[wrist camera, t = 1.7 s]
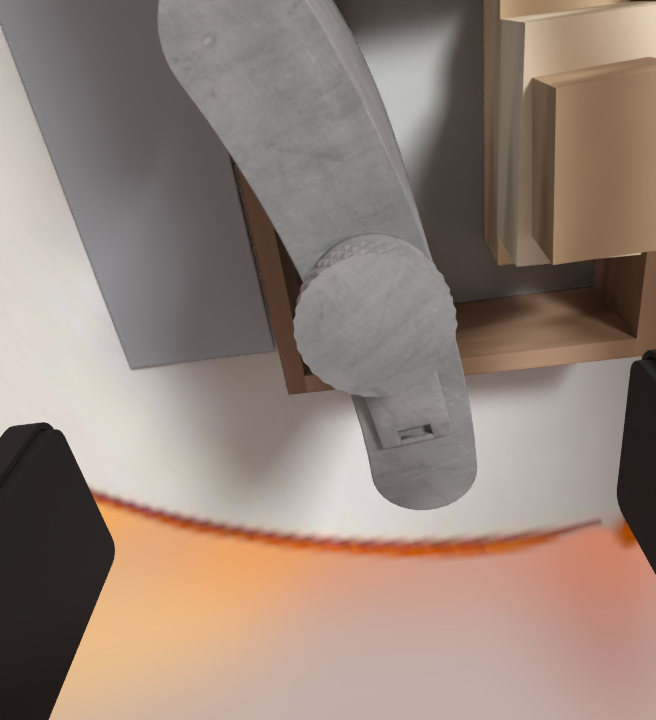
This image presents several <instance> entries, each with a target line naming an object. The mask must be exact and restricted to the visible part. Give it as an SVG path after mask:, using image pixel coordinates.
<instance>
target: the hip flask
mask: <svg viewBox="0 0 656 720" xmlns="http://www.w3.org/2000/svg"><path fill="white" fill-rule="evenodd" d="M157 27H158V37H159V41H160V45H161V50H162V53H163V55H164V58H165V60H166V62H167V65H168V67H169V69H170V70H171V72H172V73H173V75H174V77H175V78H176V80H177V81H178V83H179V84H180V85H181V87H182V88H183V89H184V91H185V92H186V94H187V95H188V96H189V98H190V99H191V100H192V102H193V103H194V104H195V106H196V107H197V108H198V110H199V111H200V112H201V114H202V115H203V117H204V118H205V119H206V121H207V122H208V124H209V125H210V126H211V128H212V129H213V131H214V132H215V134H216V135H217V137H218V138H219V140H220V141H221V143H222V144H223V145H224V147H225V148H226V150H227V151H228V153H229V154H230V156H231V157H232V159H233V160H234V162H235V163H236V165H237V167H238V168H239V170H240V171H241V173H242V175H243V176H244V178H245V179H246V181H247V183H248V184H249V186H250V187H251V189H252V191H253V192H254V194H255V195H256V197H257V199H258V200H259V202H260V204H261V206H262V207H263V209H264V211H265V213H266V214H267V216H268V218H269V220H270V221H271V223H272V225H273V226H274V228H275V230H276V232H277V233H278V235H279V237H280V239H281V241H282V243H283V245H284V246H285V248H286V250H287V252H288V254H289V256H290V258H291V260H292V262H293V264H294V266H295V268H296V269H297V271H298V273H299V275H300V278H301V280H302V282H303V284H302V285H301V288H300V295H299V296H298V298H297V306H296V308H295V315H296V316H295V318H294V320H293V323H294V328H295V329H294V338H295V340H296V342H297V350H298V351H299V353H300V354H301V356H302V359H303V362H304V363H305V364H306V365H308V366H309V368H310V370H311V372H312V373H313V374H315V375H317V376H318V377H319V378H320V379H321V380H322V381H323V382H324V383H327V384H330V385H331V386H332V387H333V388H334V389H336V390H341V391H344V392H346V393H348V394H350V395H351V397H352V400H353V403H354V406H355V409H356V413H357V416H358V419H359V422H360V425H361V429H362V433H363V437H364V441H365V445H366V449H367V453H368V458H369V463H370V469H371V474H372V478H373V482H374V485H375V487H376V488H377V490H378V491H379V493H380V494H381V495H382V496H383V497H384V498H386V499H387V500H389V501H390V502H391V503H394V504H396V505H398V506H400V507H404V508H408V509H414V510H430V509H436V508H440V507H443V506H446V505H449V504H451V503H453V502H455V501H456V500H458V499H459V498H461V497H462V496H463V495H464V494H465V493H466V492H467V491H468V490H469V489H470V487H471V486H472V484H473V483H474V480H475V477H476V473H477V461H476V449H475V438H474V430H473V423H472V415H471V408H470V402H469V397H468V392H467V387H466V382H465V376H464V372H463V368H462V363H461V359H460V355H459V351H458V346H457V342H456V328H457V325H458V323H457V320H456V318H455V317H456V308H455V307H454V305H453V297H452V296H451V295H450V288H449V287H448V285H447V284H446V283H445V280H444V276H443V275H442V274H441V273H440V272H439V271H438V270H437V268H436V265H435V264H434V263H433V260H432V257H431V253H430V250H429V247H428V243H427V240H426V237H425V233H424V230H423V227H422V223H421V220H420V217H419V213H418V210H417V207H416V203H415V200H414V197H413V193H412V190H411V187H410V183H409V180H408V177H407V173H406V170H405V167H404V163H403V160H402V157H401V153H400V150H399V147H398V144H397V141H396V138H395V135H394V132H393V129H392V126H391V123H390V120H389V118H388V115H387V112H386V109H385V106H384V104H383V101H382V99H381V96H380V93H379V91H378V88H377V86H376V83H375V81H374V79H373V76H372V74H371V72H370V70H369V67H368V65H367V63H366V61H365V58H364V56H363V54H362V52H361V50H360V48H359V46H358V44H357V42H356V40H355V37H354V35H353V34H352V32H351V30H350V28H349V26H348V24H347V22H346V20H345V19H344V17H343V15H342V13H341V11H340V9H339V8H338V6H337V4H336V3H335V1H334V0H159V3H158V12H157Z"/></svg>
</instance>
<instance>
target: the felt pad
mask: <svg viewBox="0 0 656 720" xmlns="http://www.w3.org/2000/svg"><path fill="white" fill-rule="evenodd" d="M158 3H159V0H0V23H1V25H2V28H3V31H4V33H5V36H6V39H7V41H8V44H9V47H10V49H11V52H12V55H13V57H14V60H15V63H16V65H17V68H18V71H19V73H20V76H21V78H22V81H23V84H24V86H25V89H26V92H27V94H28V97H29V100H30V102H31V105H32V108H33V110H34V113H35V116H36V118H37V121H38V124H39V126H40V129H41V131H42V134H43V137H44V139H45V142H46V145H47V147H48V150H49V153H50V155H51V158H52V161H53V163H54V166H55V169H56V171H57V174H58V177H59V179H60V182H61V184H62V187H63V190H64V192H65V195H66V198H67V200H68V203H69V206H70V208H71V211H72V214H73V216H74V219H75V222H76V224H77V227H78V230H79V232H80V235H81V237H82V240H83V243H84V245H85V248H86V251H87V253H88V256H89V259H90V261H91V264H92V267H93V269H94V272H95V275H96V277H97V280H98V283H99V285H100V288H101V290H102V293H103V296H104V298H105V301H106V304H107V306H108V309H109V312H110V314H111V317H112V320H113V322H114V325H115V328H116V330H117V333H118V336H119V338H120V341H121V343H122V346H123V349H124V351H125V354H126V357H127V359H128V362H129V365H130V367H131V368H137V367H145V366H154V365H162V364H171V363H179V362H188V361H196V360H205V359H213V358H222V357H230V356H239V355H247V354H256V353H264V352H273V351H274V349H275V347H274V342H273V338H272V334H271V329H270V325H269V321H268V316H267V312H266V308H265V303H264V299H263V295H262V290H261V286H260V282H259V277H258V273H257V268H256V264H255V260H254V255H253V251H252V247H251V242H250V238H249V234H248V229H247V225H246V221H245V216H244V212H243V208H242V203H241V199H240V195H239V190H238V186H237V182H236V177H235V173H234V169H233V164H232V160H231V156H230V154H229V153H228V151H227V150H226V148H225V147H224V145H223V144H222V143H221V141H220V140H219V138H218V137H217V135H216V134H215V132H214V131H213V129H212V128H211V126H210V125H209V124H208V122H207V121H206V119H205V118H204V117H203V115H202V114H201V112H200V111H199V110H198V108H197V107H196V106H195V104H194V103H193V102H192V100H191V99H190V98H189V96H188V95H187V94H186V92H185V91H184V89H183V88H182V87H181V85H180V84H179V83H178V81H177V80H176V78H175V77H174V75H173V73H172V72H171V70H170V69H169V67H168V65H167V62H166V60H165V58H164V55H163V53H162V50H161V45H160V41H159V37H158V27H157V12H158Z"/></svg>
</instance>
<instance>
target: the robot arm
mask: <svg viewBox="0 0 656 720" xmlns="http://www.w3.org/2000/svg"><path fill="white" fill-rule="evenodd" d="M617 499H618V504H619V507H620V510H621V512H622V514H623V516H624V518H625V520H626V522H627V523H628V525H629V527H630V529H631V531H632V532H633V534H634V536H635V538H636V540H637V542H638V543H639V545H640V547H641V549H642V551H643V552H644V554H645V556H646V558H647V559H648V562H649V563H650V565H651V567H652V569H653V571H654V572H655V574H656V349H653V350H648V351H646V352H645V353H644V355H643V357H642V360H639V361H635V362H633V364H632V366H631V370H630V379H629V388H628V396H627V405H626V414H625V423H624V432H623V440H622V449H621V458H620V467H619V475H618V484H617ZM114 555H115V547H114V542H113V539H112V536H111V534H110V532H109V530H108V528H107V526H106V524H105V522H104V519H103V517H102V515H101V513H100V511H99V509H98V507H97V504H96V502H95V500H94V498H93V496H92V494H91V492H90V489H89V487H88V485H87V483H86V481H85V479H84V477H83V475H82V472H81V470H80V468H79V466H78V464H77V462H76V460H75V457H74V455H73V453H72V451H71V449H70V447H69V445H68V442H67V440H66V438H65V436H64V435H63V433H62V432H61V431H60V430H57V429H55V430H54V429H53V427H52V426H51V425H50V424H48V423H45V422H42V423H34V424H26V425H17V426H12V427H9V428H8V429H7V430H6V431H5V432H4V433H3V435H2V436H1V437H0V720H49V717H50V715H51V712H52V710H53V707H54V705H55V703H56V700H57V698H58V695H59V693H60V690H61V688H62V686H63V683H64V681H65V678H66V676H67V673H68V671H69V668H70V666H71V664H72V661H73V659H74V656H75V654H76V651H77V649H78V646H79V644H80V642H81V639H82V637H83V634H84V632H85V629H86V627H87V624H88V622H89V620H90V617H91V615H92V612H93V610H94V607H95V605H96V602H97V600H98V597H99V595H100V592H101V590H102V587H103V585H104V583H105V580H106V578H107V576H108V573H109V571H110V568H111V566H112V563H113V560H114Z"/></svg>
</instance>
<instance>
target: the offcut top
mask: <svg viewBox="0 0 656 720" xmlns="http://www.w3.org/2000/svg"><path fill="white" fill-rule="evenodd" d="M532 238H533V239H534V240H535V242H536V243H537V244H538V246H539V247H540V248H541V250H542V251H543V252H544V254H545V255H546V256H547V258H548V259H549V260H550V262H551V263H552V264H553V265H556V264H564V263H571V262H578V261H585V260H592V259H599V258H606V257H613V256H620V255H627V254H634V253H641V252H649V251H656V58H654V57H645V58H639V59H633V60H628V61H622V62H617V63H611V64H605V65H600V66H594V67H588V68H583V69H577V70H571V71H566V72H560V73H555V74H549V75H543V76H538V77H532Z"/></svg>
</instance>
